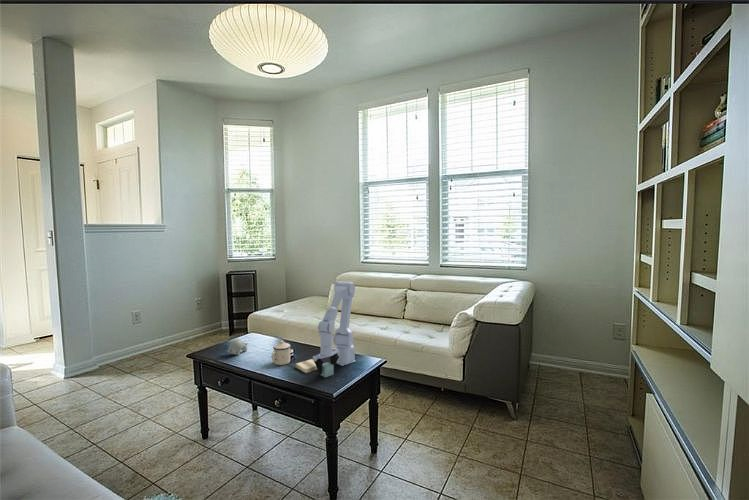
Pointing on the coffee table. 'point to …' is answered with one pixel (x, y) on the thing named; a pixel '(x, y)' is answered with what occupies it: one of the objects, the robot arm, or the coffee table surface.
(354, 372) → the coffee table surface
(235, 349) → the chubby cartoon animal
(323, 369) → the teal cube
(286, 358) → the teacup with lid
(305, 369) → the maple base
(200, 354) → the coffee table surface
